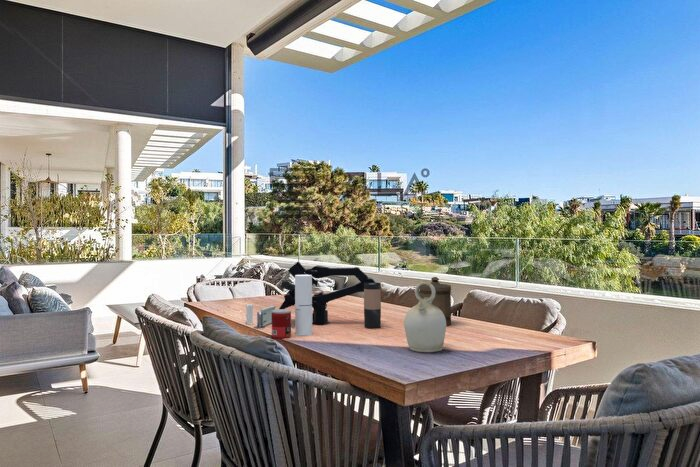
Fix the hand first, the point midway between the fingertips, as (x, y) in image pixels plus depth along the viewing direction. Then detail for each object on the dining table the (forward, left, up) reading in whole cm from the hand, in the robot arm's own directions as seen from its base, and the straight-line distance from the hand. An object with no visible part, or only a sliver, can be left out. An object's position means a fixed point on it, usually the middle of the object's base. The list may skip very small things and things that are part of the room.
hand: (279, 309), depth 241 cm
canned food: (-19, +24, -7) cm, 31 cm away
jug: (-79, +16, -7) cm, 81 cm away
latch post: (+15, +5, -7) cm, 17 cm away
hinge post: (+2, +12, -7) cm, 14 cm away
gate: (+4, +4, -6) cm, 8 cm away
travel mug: (-43, -12, -7) cm, 45 cm away
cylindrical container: (-24, +15, -7) cm, 29 cm away
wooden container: (-65, -33, -7) cm, 73 cm away
